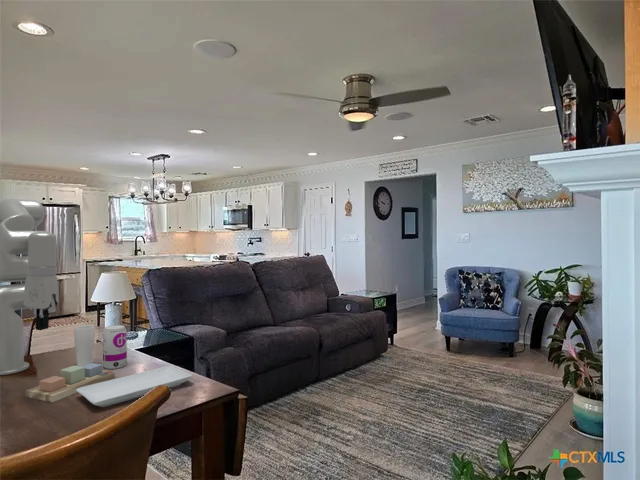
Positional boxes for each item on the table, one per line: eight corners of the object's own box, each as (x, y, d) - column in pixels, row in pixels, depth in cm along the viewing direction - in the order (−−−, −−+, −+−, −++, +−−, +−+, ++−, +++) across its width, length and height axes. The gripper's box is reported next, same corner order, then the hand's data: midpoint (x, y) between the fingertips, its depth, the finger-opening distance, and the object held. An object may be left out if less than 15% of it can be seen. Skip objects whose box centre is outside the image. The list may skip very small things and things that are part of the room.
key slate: (79, 378, 145) (79, 367, 145) (91, 374, 150) (91, 363, 150) (90, 380, 143) (89, 369, 143) (102, 376, 148) (102, 364, 148)
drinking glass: (86, 369, 157) (85, 329, 157) (70, 368, 159) (69, 328, 158) (98, 363, 164) (98, 325, 164) (83, 362, 165) (83, 324, 165)
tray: (74, 398, 131) (74, 387, 131) (170, 373, 154) (170, 364, 154) (93, 415, 120) (93, 403, 119) (194, 385, 142) (194, 375, 142)
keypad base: (25, 396, 132) (25, 389, 132) (89, 373, 153) (89, 366, 153) (52, 402, 127) (52, 395, 127) (114, 377, 149) (114, 371, 149)
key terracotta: (39, 393, 132) (39, 381, 132) (54, 388, 137) (54, 375, 137) (50, 395, 130) (50, 383, 130) (65, 390, 135) (65, 377, 135)
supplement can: (131, 365, 162) (130, 326, 162) (110, 371, 155) (110, 330, 155) (119, 361, 167) (118, 323, 166) (98, 367, 160) (98, 327, 159)
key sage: (60, 382, 139) (60, 370, 139) (74, 377, 143) (73, 365, 143) (71, 384, 137) (71, 372, 137) (84, 379, 142) (84, 367, 141)
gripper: (13, 271, 132) (13, 329, 133) (47, 274, 126) (47, 335, 127) (37, 268, 139) (37, 323, 140) (70, 272, 134) (70, 329, 134)
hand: (42, 328), depth 134 cm, fingers closed
